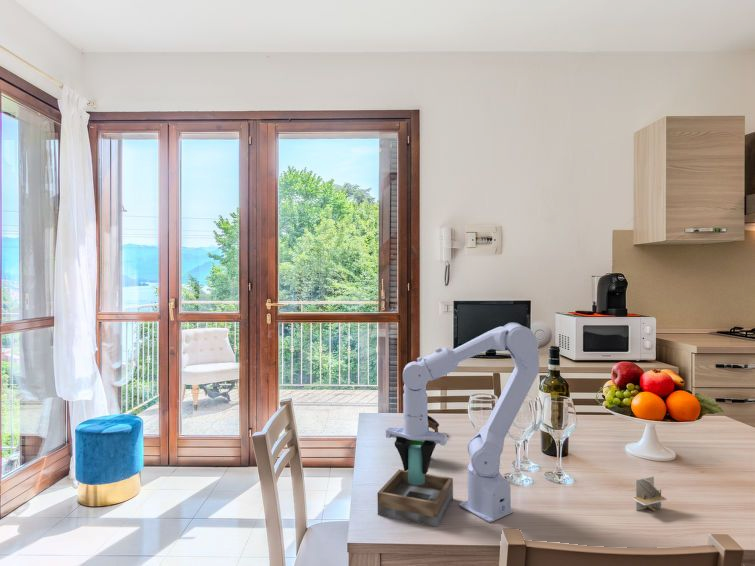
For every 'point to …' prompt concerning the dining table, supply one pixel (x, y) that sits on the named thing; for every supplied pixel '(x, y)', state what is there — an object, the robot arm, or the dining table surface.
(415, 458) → the peg
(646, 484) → the architectural model
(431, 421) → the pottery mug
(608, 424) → the dining table surface
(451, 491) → the socket box
